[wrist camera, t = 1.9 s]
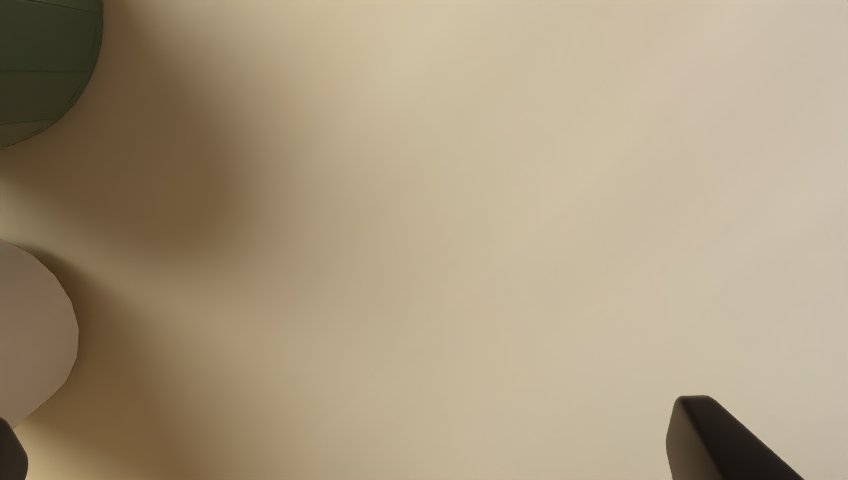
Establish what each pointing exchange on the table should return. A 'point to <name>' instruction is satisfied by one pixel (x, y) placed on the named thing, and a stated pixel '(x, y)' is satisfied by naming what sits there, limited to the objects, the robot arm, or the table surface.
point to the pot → (44, 61)
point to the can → (32, 334)
